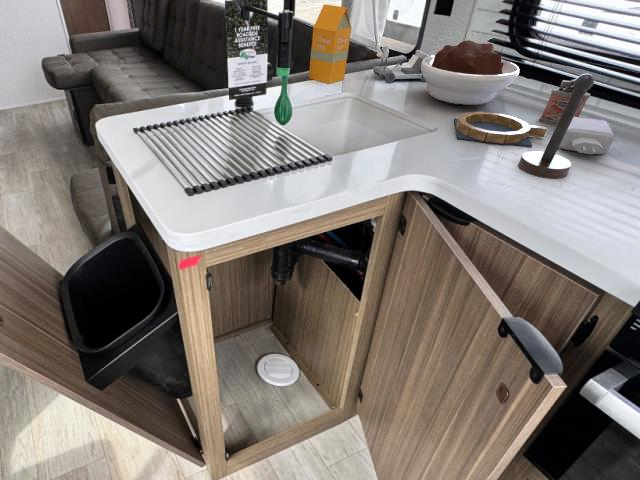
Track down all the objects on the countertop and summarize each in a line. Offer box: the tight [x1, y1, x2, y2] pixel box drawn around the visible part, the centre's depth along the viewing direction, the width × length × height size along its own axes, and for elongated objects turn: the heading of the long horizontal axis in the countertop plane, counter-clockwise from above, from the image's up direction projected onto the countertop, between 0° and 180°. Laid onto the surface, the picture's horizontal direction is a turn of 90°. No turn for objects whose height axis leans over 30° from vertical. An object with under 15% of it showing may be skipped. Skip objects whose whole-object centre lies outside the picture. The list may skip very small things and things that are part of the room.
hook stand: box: [517, 73, 595, 179], centre depth 84 cm, size 9×9×18 cm
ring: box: [456, 111, 548, 144], centre depth 104 cm, size 19×16×2 cm
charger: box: [558, 116, 616, 155], centre depth 96 cm, size 5×9×15 cm
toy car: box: [372, 45, 431, 84], centre depth 140 cm, size 18×10×12 cm
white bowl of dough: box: [421, 39, 520, 106], centre depth 120 cm, size 25×25×15 cm
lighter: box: [538, 78, 591, 126], centre depth 108 cm, size 8×3×10 cm, turn 55°
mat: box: [453, 117, 533, 148], centre depth 105 cm, size 16×14×1 cm
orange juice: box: [308, 4, 352, 85], centre depth 135 cm, size 8×9×20 cm
